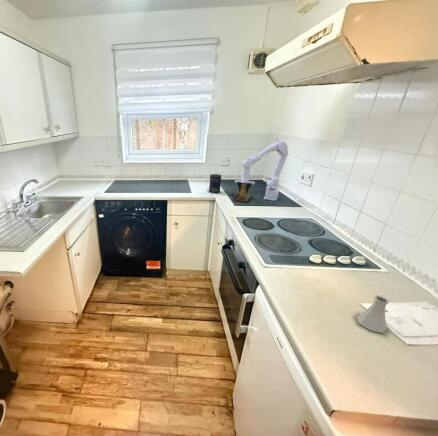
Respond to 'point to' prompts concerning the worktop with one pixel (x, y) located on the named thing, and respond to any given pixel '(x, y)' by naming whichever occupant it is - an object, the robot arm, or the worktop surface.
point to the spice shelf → (241, 198)
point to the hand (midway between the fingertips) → (243, 192)
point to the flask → (375, 315)
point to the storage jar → (215, 183)
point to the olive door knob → (243, 190)
